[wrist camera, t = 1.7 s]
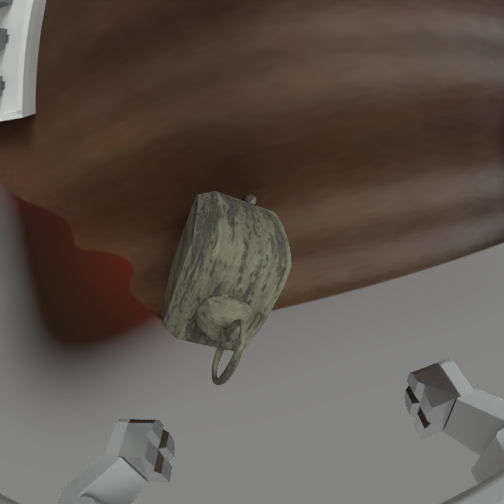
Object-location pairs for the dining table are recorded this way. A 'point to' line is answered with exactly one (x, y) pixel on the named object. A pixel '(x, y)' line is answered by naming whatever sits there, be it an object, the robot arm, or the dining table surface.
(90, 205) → the dining table surface
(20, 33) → the switch bank
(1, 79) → the tab
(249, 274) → the tabletop clock
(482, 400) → the robot arm
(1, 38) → the tab
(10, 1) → the tab
